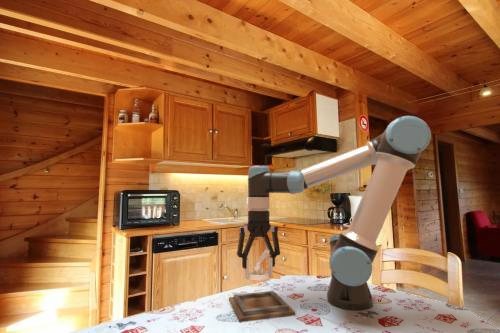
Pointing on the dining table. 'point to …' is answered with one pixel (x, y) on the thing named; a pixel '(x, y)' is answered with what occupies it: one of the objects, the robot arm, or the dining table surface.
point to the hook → (263, 275)
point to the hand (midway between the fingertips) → (258, 277)
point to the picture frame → (259, 306)
